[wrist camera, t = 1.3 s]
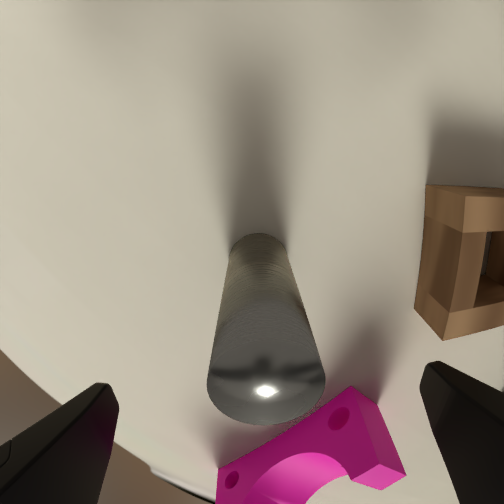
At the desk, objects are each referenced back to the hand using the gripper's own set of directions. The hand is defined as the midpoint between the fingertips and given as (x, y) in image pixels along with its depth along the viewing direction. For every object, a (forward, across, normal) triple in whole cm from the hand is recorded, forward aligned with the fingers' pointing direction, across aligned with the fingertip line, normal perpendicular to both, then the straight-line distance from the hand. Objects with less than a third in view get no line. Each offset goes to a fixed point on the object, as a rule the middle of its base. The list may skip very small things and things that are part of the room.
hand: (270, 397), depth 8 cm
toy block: (+11, -3, +17) cm, 21 cm away
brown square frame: (+10, -14, 0) cm, 17 cm away
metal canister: (+10, 0, 0) cm, 10 cm away
